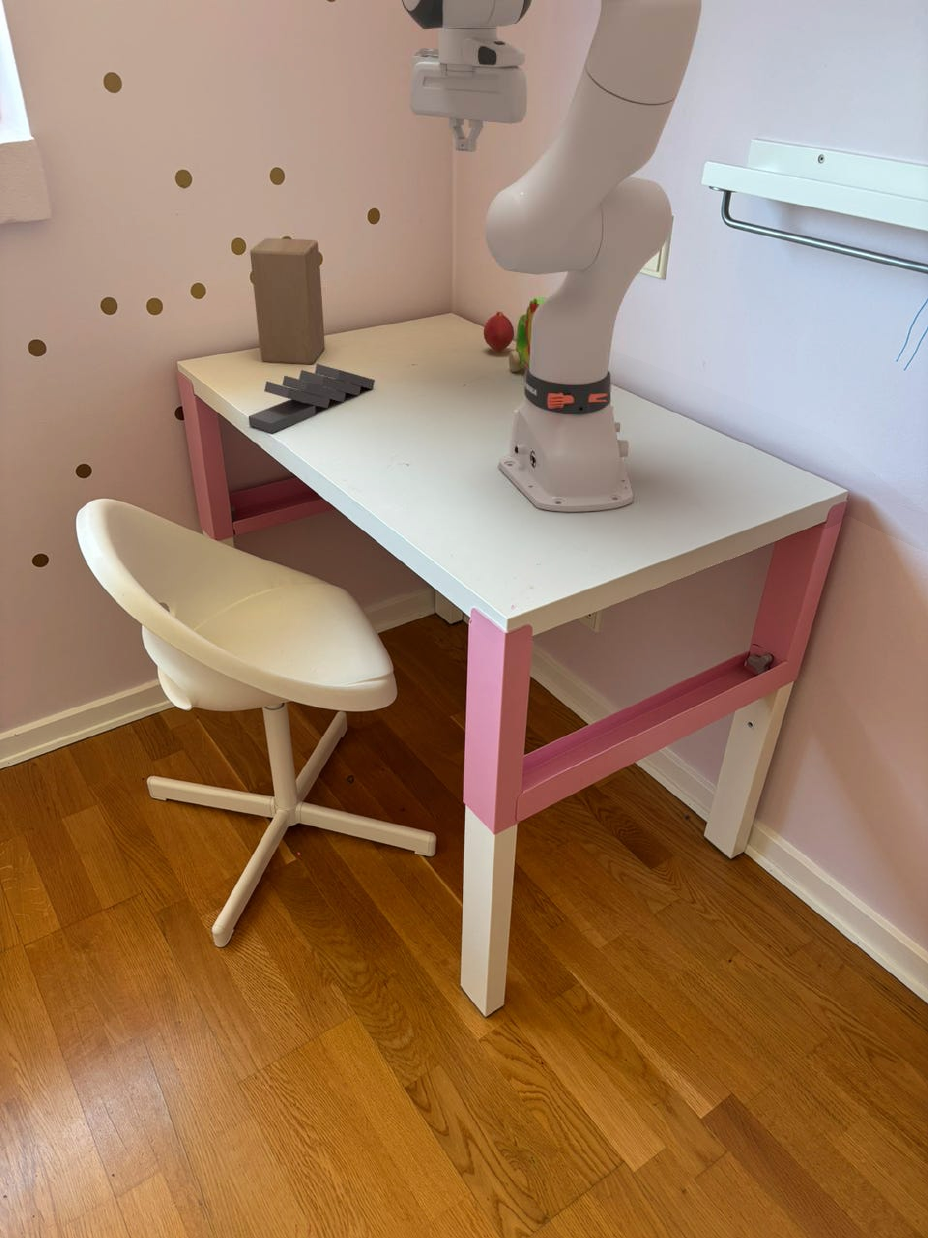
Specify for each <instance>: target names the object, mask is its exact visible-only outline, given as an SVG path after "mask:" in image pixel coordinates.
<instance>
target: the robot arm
mask: <svg viewBox="0 0 928 1238" xmlns="http://www.w3.org/2000/svg"><path fill="white" fill-rule="evenodd" d="M532 2H533V1H532V0H401V3H402V5H403V8H404V9H405V11H406V13H407V14H408V15H409V17H410V18H411V19H412V20H413V21H414V22H415V23H416V24H417V25H418V26H419V27H420V28H421V29H423V30H431V29H432V30H433V29H437V31H438V32H437V33H438V35H437V39H438V41H437V42H438V43H437V46H438V47H437V48H431V49H430V48H426V47H423V48H420V49H419V51H417V52H416V53H415V54H414V56H413V58H412V62H411V63H412V73H411V74H412V75H411V79H410V92H409V93H410V94H409V107H410V110H411V112H412V113H413V115H417V116H427V117H438V118H446V119H447V118H448V121H449V122H448V123H449V129H450V130H451V133H452V135H453V137H454V141H455V145H454V146H455V147H454V148H455V151H460V152H468V153H473V152H474V153H475V152H476V150H477V139H478V138H479V136H480V134H481V133H482V130H483V128H484V122H490V123H499V124H500V123H501V124H511V125H512V124H519V123H522V121H523V120H524V118H525V116H526V113H527V107H528V102H527V101H528V99H527V93H528V90H527V89H528V88H527V78H526V74H525V71H524V69H522V68H521V66H524V64H525V59H526V53H525V51H524V50H523V49H522V48H520V47H519V46H517V45H515V44H512V43H510V42H509V41H507V40H504V39H503V38H501V37H499V36H497V32H498V31H497V29H498V28H499V27H501V28H503V27H508V26H512V25H516V24H518V23H519V22H520V21H521V19H523V17H524V16H525V15H526V14H527V12H528V10H529V8H530V6H531V4H532ZM600 3H601V4H600V5H601V6H600V13H599V18H598V22H597V25H596V28H595V31H594V34H593V36H592V39H591V42H590V45H589V47H588V51H587V55H586V57H585V60H584V64H583V67H582V71H581V73H580V77H579V80H578V83H577V86H576V89H575V92H574V95H573V98H572V100H571V102H570V105H569V109H568V111H567V114H566V117H565V119H564V121H563V124H562V126H561V128H560V130H559V131H558V133H557V134H556V136H555V137H554V139H553V140H552V142H551V144H550V145H549V146H548V147H547V149H546V150H545V151H544V153H543V154H542V155H541V157H540V158H538V160H537V161H536V162H535V164H533V166H531V167H530V168H529V170H528V171H527V172H526V173H524V174H523V175H522V176H521V177H520V178H519V179H517V180H516V181H515V182H513V183H512V184H511V185H509V186H508V187H506V188H504V189H502V190H501V191H499V192H498V193H497V194H496V195H495V197H494V198H493V200H492V202H491V203H490V206H489V207H488V209H487V213H486V216H485V217H486V218H485V224H484V235H485V237H484V238H485V241H486V244H487V248H488V251H489V253H490V255H491V257H492V258H493V259H494V261H495V262H496V263H497V265H498V266H500V268H502V269H503V270H504V271H507V272H515V273H521V274H530V275H547V274H548V275H549V274H554V273H556V274H557V273H564V272H565V273H566V275H565V277H564V279H563V281H562V283H561V284H560V286H559V287H558V288H557V289H556V290H555V292H553V293H552V294H551V295H549V297H546V298H547V299H546V300H545V301H543V302H542V303H541V304H540V305H539V306H538V308H537V309H536V311H535V313H534V315H533V318H532V323H531V341H530V360H529V367H528V368H527V369H525V371H526V376H525V379H524V378H523V381H524V382H523V384H524V392H523V393H524V399H523V401H522V402H521V404H520V405H519V406H518V407H517V408H515V410H514V411H513V414H512V423H511V433H510V442H509V452H508V453H509V454H507V455H505V456H503V457H501V458H500V459H499V460H498V466H497V467H498V468H499V470H500V471H502V473H503V474H504V475H505V476H506V477H507V478H508V479H509V480H510V481H511V482H512V483H513V484H514V486H516V487H517V488H518V489H519V490H520V492H521V493H523V495H525V497H526V498H527V499H528V500H529V501H530V502H531V504H533V505H534V506H535V507H536V508H537V509H542V510H547V511H555V512H569V513H570V512H571V513H572V512H573V513H574V512H576V513H577V512H592V511H594V512H595V511H603V510H612V509H616V508H620V507H623V506H626V505H629V504H631V503H633V501H634V492H633V489H632V486H631V481H630V478H629V474H628V471H627V470H628V469H627V467H626V463H625V459H624V458H626V457H628V455H629V440H626V439H625V440H618V434H617V433H620V431H621V422H615V419H614V413H613V411H614V406H613V405H612V404H611V398H612V397H611V391H612V382H611V373H610V371H609V363H610V355H611V347H612V340H613V335H614V329H615V323H616V321H617V320H616V319H617V315H618V312H619V309H620V307H621V305H622V302H623V300H624V298H625V296H626V294H627V292H628V290H629V289H630V286H631V285H632V283H633V281H634V280H635V279H636V277H637V276H638V274H639V272H640V271H641V270H642V269H643V268H644V266H645V265H646V264H647V263H649V261H651V259H652V258H653V257H654V256H657V254H658V253H660V251H661V250H662V249H663V247H664V246H665V244H666V242H667V241H668V238H669V235H670V233H671V228H672V220H673V219H672V218H673V217H672V215H673V214H672V207H671V203H670V199H669V197H668V195H667V194H666V192H665V189H664V188H663V187H662V186H661V185H660V184H659V183H658V182H656V181H655V180H654V181H653V180H650V179H644V178H641V177H637V176H636V177H634V176H632V175H634V174H636V173H637V172H638V171H640V170H641V169H643V167H644V166H645V165H646V164H647V163H648V162H649V161H650V160H651V158H652V157H653V156H654V153H655V151H656V150H657V147H658V144H659V142H660V139H661V138H662V134H663V132H664V130H665V127H666V126H667V125H666V124H667V122H668V120H669V117H670V114H671V112H672V109H673V107H674V105H675V102H676V99H677V98H678V97H677V96H678V94H679V92H680V89H681V86H682V84H683V80H684V78H685V75H686V72H687V69H688V66H689V63H690V59H691V56H692V52H693V48H694V46H695V40H696V37H697V33H698V29H699V23H700V18H701V13H702V12H701V11H702V4H703V3H702V0H601V1H600ZM465 120H466V121H467V123H468V126H467V127H468V128H470V131H469V132H468V135H467V137H466V136H465V134H464V129H463V127H462V126H464V125H465Z"/></svg>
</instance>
